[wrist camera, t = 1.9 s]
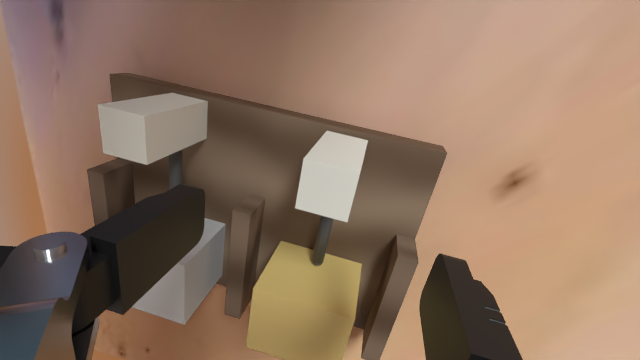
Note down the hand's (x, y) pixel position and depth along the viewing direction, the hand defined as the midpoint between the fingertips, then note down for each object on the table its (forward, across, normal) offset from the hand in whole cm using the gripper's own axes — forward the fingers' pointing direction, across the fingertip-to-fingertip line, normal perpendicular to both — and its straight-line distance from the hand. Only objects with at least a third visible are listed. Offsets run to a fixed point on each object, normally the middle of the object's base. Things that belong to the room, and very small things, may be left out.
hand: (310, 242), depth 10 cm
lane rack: (+11, +6, +6) cm, 13 cm away
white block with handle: (+9, +11, +5) cm, 15 cm away
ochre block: (+9, 0, +5) cm, 11 cm away
